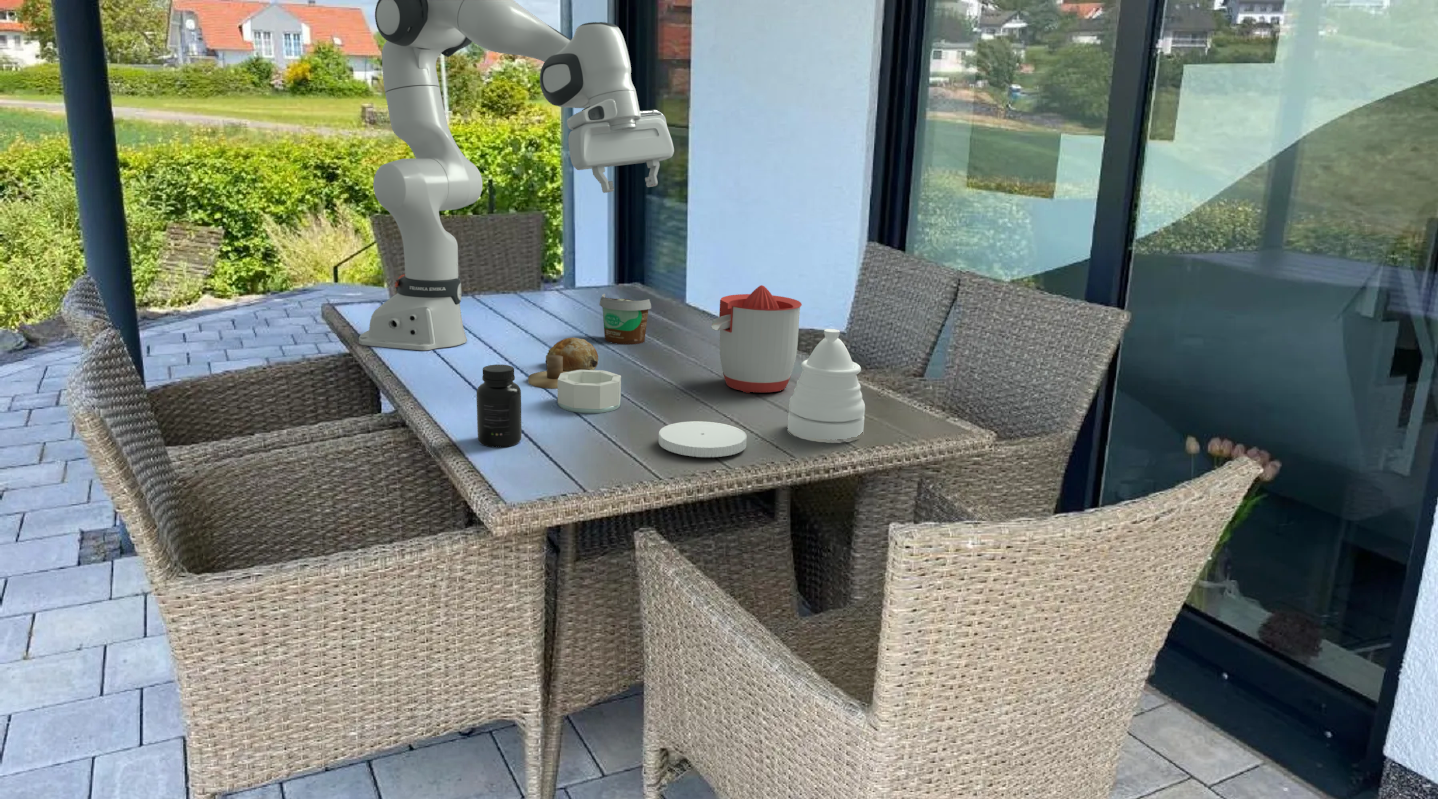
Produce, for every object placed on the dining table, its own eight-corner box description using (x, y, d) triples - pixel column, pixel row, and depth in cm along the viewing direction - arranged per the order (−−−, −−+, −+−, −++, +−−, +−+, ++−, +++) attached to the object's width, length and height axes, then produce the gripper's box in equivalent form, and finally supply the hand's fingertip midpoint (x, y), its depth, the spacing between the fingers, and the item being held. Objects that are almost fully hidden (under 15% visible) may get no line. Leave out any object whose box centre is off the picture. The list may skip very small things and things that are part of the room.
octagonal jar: (554, 412, 187) (554, 384, 186) (562, 395, 198) (562, 368, 196) (618, 414, 187) (618, 386, 186) (622, 397, 198) (622, 371, 197)
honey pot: (861, 446, 176) (870, 339, 171) (783, 439, 178) (790, 332, 173) (864, 425, 188) (873, 324, 184) (791, 418, 190) (798, 318, 186)
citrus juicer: (696, 379, 214) (700, 279, 208) (775, 375, 220) (781, 277, 215) (725, 400, 200) (731, 293, 194) (809, 395, 206) (817, 291, 201)
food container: (588, 341, 242) (589, 297, 239) (601, 336, 248) (602, 293, 245) (638, 348, 238) (639, 303, 235) (650, 343, 243) (651, 299, 241)
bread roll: (579, 392, 214) (596, 358, 212) (534, 366, 215) (551, 332, 212) (594, 380, 223) (611, 348, 221) (552, 356, 224) (568, 323, 221)
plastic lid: (763, 455, 171) (764, 439, 170) (690, 468, 163) (690, 452, 162) (712, 431, 182) (713, 417, 181) (641, 443, 174) (642, 428, 173)
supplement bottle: (480, 434, 173) (479, 361, 170) (523, 435, 174) (523, 363, 170) (474, 447, 166) (473, 372, 163) (519, 448, 167) (519, 373, 164)
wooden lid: (524, 389, 202) (524, 362, 200) (532, 375, 211) (532, 350, 210) (578, 391, 202) (578, 364, 201) (583, 377, 212) (583, 351, 210)
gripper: (654, 112, 203) (668, 186, 205) (558, 121, 192) (574, 198, 193) (672, 104, 198) (686, 179, 199) (574, 112, 187) (591, 192, 188)
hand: (630, 189), depth 196 cm, fingers open, 8 cm apart
